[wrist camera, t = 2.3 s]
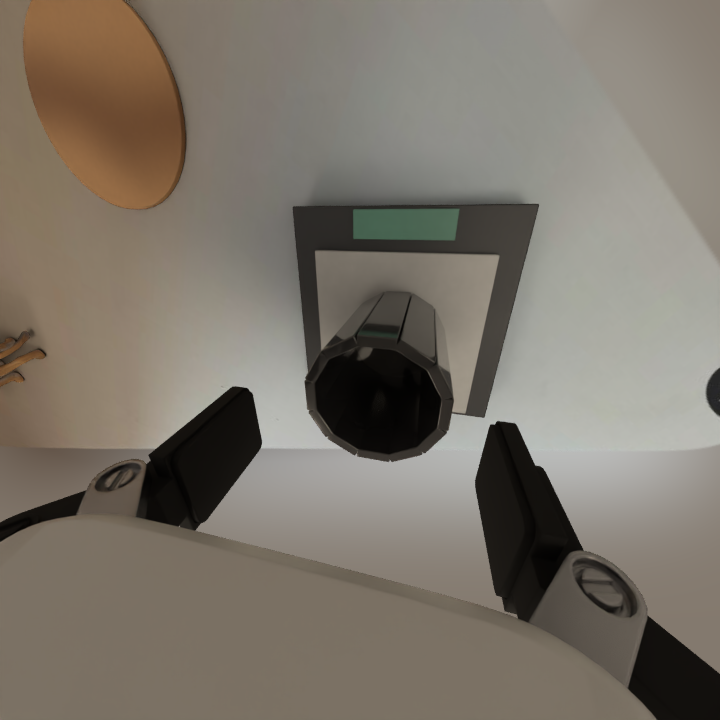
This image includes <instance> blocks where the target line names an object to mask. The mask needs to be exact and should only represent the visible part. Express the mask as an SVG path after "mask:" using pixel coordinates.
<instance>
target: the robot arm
mask: <svg viewBox="0 0 720 720" xmlns="http://www.w3.org/2000/svg"><path fill="white" fill-rule="evenodd" d="M261 445H262V439H261V434H260V429H259V424H258V419H257V414H256V409H255V404H254V398H253V394H252V393H251V392H250V391H249V389H248V388H243V387H232V388H230V389H229V390H228V391H227V392H225V393H224V394H223V395H222V396H220V397H219V398H218V399H217V400H215V401H214V402H213V403H212V404H211V405H209V406H208V407H207V408H206V409H204V410H203V411H202V412H201V413H200V414H198V415H197V416H196V417H195V418H193V419H192V420H191V421H190V422H188V423H187V424H186V425H185V426H184V427H182V428H181V429H180V430H179V431H177V432H176V433H175V434H174V435H173V436H171V437H170V438H169V439H168V440H166V441H165V442H164V443H163V444H161V445H160V446H159V447H158V448H157V449H155V450H154V451H153V452H152V453H150V454H149V457H150V460H151V461H150V462H149V463H147V464H146V463H145V462H144V461H143V460H139V459H131V460H125V461H122V462H119V463H116V464H114V465H112V466H110V467H108V468H106V469H105V470H103V471H102V472H100V473H99V474H98V475H97V476H96V477H95V478H94V479H93V480H92V481H91V483H90V484H89V486H88V488H87V490H86V491H83V492H80V493H77V494H74V495H71V496H68V497H65V498H63V499H60V500H57V501H54V502H51V503H48V504H45V505H42V506H40V507H37V508H34V509H31V510H28V511H25V512H22V513H20V514H18V515H15V516H13V517H10V518H8V519H6V520H4V521H2V522H0V720H720V674H719V673H718V672H717V671H715V670H714V669H713V668H712V667H710V666H709V665H708V664H707V663H706V662H704V661H703V660H702V659H700V658H699V657H698V656H697V655H696V654H694V653H693V652H692V651H691V650H689V649H688V648H687V647H686V646H685V645H683V644H682V643H681V642H679V641H678V640H677V639H676V638H675V637H673V636H672V635H671V634H670V633H668V632H667V631H666V630H665V629H663V628H662V627H661V626H660V625H658V624H657V623H656V622H655V621H654V620H652V619H651V618H650V617H649V616H647V606H646V604H645V601H644V598H643V596H642V594H641V593H640V591H639V590H638V588H637V587H636V585H635V584H634V583H633V581H632V580H631V579H630V578H629V577H628V576H627V575H626V574H625V573H624V572H623V571H622V570H620V569H619V568H618V567H617V566H615V565H614V564H613V563H611V562H610V561H608V560H606V559H605V558H603V557H601V556H599V555H596V554H594V553H591V552H587V551H584V550H583V548H582V546H581V544H580V542H579V540H578V538H577V536H576V534H575V532H574V530H573V528H572V526H571V524H570V521H569V520H568V518H567V515H566V513H565V511H564V509H563V507H562V505H561V503H560V501H559V499H558V497H557V495H556V493H555V491H554V488H553V487H552V484H551V482H550V480H549V478H548V476H547V474H546V472H545V471H544V469H543V468H542V467H540V466H535V464H534V462H533V460H532V458H531V456H530V453H529V451H528V449H527V447H526V444H525V442H524V440H523V438H522V436H521V433H520V431H519V429H518V427H517V425H516V424H515V423H508V422H500V421H497V422H496V424H495V425H492V424H491V425H490V427H489V430H488V434H487V438H486V442H485V445H484V449H483V453H482V457H481V460H480V464H479V468H478V472H477V476H476V480H475V488H476V494H477V499H478V505H479V510H480V515H481V520H482V526H483V531H484V537H485V542H486V548H487V553H488V558H489V563H490V569H491V574H492V580H493V585H494V590H495V593H496V595H497V596H500V597H502V600H503V605H504V610H505V611H506V612H510V613H514V614H517V616H518V618H515V617H513V616H510V615H508V614H504V613H502V612H499V611H496V610H493V609H489V608H487V607H484V606H481V605H478V604H474V603H471V602H467V601H463V600H460V599H456V598H453V597H449V596H445V595H442V594H439V593H435V592H431V591H428V590H424V589H421V588H417V587H413V586H409V585H405V584H402V583H398V582H394V581H390V580H386V579H382V578H378V577H375V576H371V575H367V574H363V573H359V572H355V571H352V570H348V569H344V568H340V567H336V566H332V565H329V564H325V563H321V562H317V561H313V560H309V559H305V558H301V557H297V556H293V555H289V554H285V553H281V552H277V551H274V550H270V549H266V548H261V547H258V546H254V545H250V544H246V543H241V542H238V541H234V540H229V539H226V538H222V537H218V536H214V535H210V534H205V533H202V532H198V531H195V530H196V529H197V528H198V526H199V525H200V524H201V523H203V522H205V521H206V520H207V519H208V518H209V516H210V515H211V514H212V512H213V511H214V510H215V508H216V507H217V506H218V504H219V503H220V502H221V500H222V499H223V498H224V496H225V495H226V494H227V493H228V491H229V490H230V488H231V487H232V486H233V485H234V483H235V482H236V481H237V479H238V478H239V476H240V475H241V474H242V473H243V471H244V470H245V469H246V467H247V466H248V465H249V463H250V462H251V461H252V459H253V458H254V457H255V455H256V454H257V453H258V451H259V450H260V448H261ZM179 525H180V527H179Z"/></svg>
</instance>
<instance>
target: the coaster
mask: <svg viewBox="0 0 720 720" xmlns="http://www.w3.org/2000/svg"><path fill="white" fill-rule="evenodd" d="M23 50H24V62H25V70H26V75H27V80H28V85H29V89H30V92H31V96H32V99H33V102H34V105H35V108H36V110H37V113H38V116H39V118H40V120H41V123H42V125H43V127H44V129H45V131H46V133H47V135H48V137H49V139H50V141H51V143H52V144H53V146H54V147H55V149H56V151H57V152H58V154H59V155H60V157H61V158H62V160H63V161H64V162H65V164H66V165H67V166H68V168H69V169H70V170H71V171H72V172H73V174H74V175H75V176H76V177H77V178H78V179H79V180H80V181H81V182H82V183H83V184H84V185H85V186H86V187H87V188H89V189H90V190H91V191H92V192H93V193H95V194H96V195H98V196H99V197H100V198H102V199H104V200H106V201H107V202H109V203H111V204H114V205H116V206H119V207H123V208H127V209H148V208H151V207H154V206H156V205H158V204H160V203H161V202H163V201H164V200H165V199H166V198H167V197H168V196H169V195H170V194H171V192H172V191H173V190H174V188H175V186H176V184H177V183H178V180H179V178H180V175H181V172H182V168H183V163H184V157H185V148H186V133H185V122H184V115H183V109H182V104H181V100H180V96H179V92H178V88H177V85H176V82H175V80H174V77H173V74H172V71H171V69H170V66H169V64H168V62H167V60H166V57H165V55H164V53H163V52H162V50H161V48H160V46H159V44H158V42H157V41H156V39H155V37H154V36H153V34H152V33H151V31H150V30H149V28H148V27H147V25H146V24H145V23H144V21H143V20H142V19H141V18H140V16H139V15H138V14H137V13H136V12H135V11H134V10H133V9H132V7H131V6H130V5H129V4H128V3H127V2H126V1H125V0H32V1H31V3H30V5H29V8H28V11H27V15H26V20H25V25H24V37H23Z"/></svg>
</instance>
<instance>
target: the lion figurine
mask: <svg viewBox="0 0 720 720" xmlns="http://www.w3.org/2000/svg"><path fill="white" fill-rule="evenodd" d="M29 338H30V337H29V333H28V332H27V331H23V332H22V333H21V335H20V337H19V338H18V340H17V342H16V341H15V340H14V339H12V338H7V339H5V342H4V343H1V344H0V351H3V352H1V353H0V359H1V358H4V357H6V356H8V355H10V354H11V353H13V352H14V351H16V350H17V349H19V348H20V347H21V346H22V345H23V344H24V343H25V342H26V341H27V340H28V339H29ZM4 350H5V351H4ZM34 358H36V359H43V358H45V355H44V353H43V352H41V351H40V350H34V351H31V352H29V353H27V354H25V355H22V356H19V357H17V358H16V359H15V360H13V361H11V362H9V363H7V364H4V363H3V362H2V361H1V360H0V376H2V375H5V374H7V373H9V372H11V371H12V370H14V369H16V368H17V367H19V366H20V365H22V364H24V363H26V362H28V361H29V360H31V359H34ZM13 380H14V381H15V382H23V381H24V380H23V378H22V376H21V375H20V374H18V373H9V374H7V375H5V376H3V377H1V378H0V387H1V386H3V385H4V384H7V383H9V382H11V381H13Z"/></svg>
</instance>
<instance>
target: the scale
mask: <svg viewBox="0 0 720 720" xmlns="http://www.w3.org/2000/svg"><path fill="white" fill-rule="evenodd" d="M538 208H539V204H485V205H389V206H294V207H293V216H294V227H295V238H296V248H297V259H298V269H299V280H300V291H301V301H302V312H303V323H304V333H305V344H306V355H307V365H308V372H309V370H310V369H311V367H312V365H313V363H314V361H315V360H316V358H317V356H318V354H319V353H320V352H321V350H322V349H323V348H324V347H325V346H326V345H327V343H328V342H329V341H330V340H331V339H332V338H333V336H334V335H335V334H336V333H337V332H338V331H339V330H340V328H341V327H342V326H343V325H344V324H345V323H346V321H347V320H348V319H349V318H350V317H351V316H352V314H353V313H354V312H355V311H356V310H357V309H358V308H359V306H360V305H361V304H362V303H363V302H365V301H367V300H368V299H370V298H372V297H374V296H376V295H378V294H380V293H382V292H386V291H397V292H411V294H412V293H414V294H415V295H417V296H418V297H420V298H421V299H423V300H425V301H426V302H428V303H429V304H431V305H432V306H433V307H434V308H435V309H436V311H437V313H438V315H439V318H440V320H441V322H442V324H443V326H444V328H445V335H446V342H447V350H448V357H449V365H450V373H451V380H452V388H453V395H454V404H453V410H452V413H453V414H461V415H468V416H475V417H482V418H484V417H485V413H486V409H487V406H488V402H489V398H490V394H491V390H492V386H493V382H494V378H495V374H496V371H497V367H498V363H499V359H500V355H501V351H502V347H503V343H504V340H505V336H506V332H507V328H508V324H509V320H510V316H511V312H512V308H513V305H514V301H515V297H516V293H517V289H518V285H519V281H520V277H521V274H522V270H523V266H524V262H525V258H526V254H527V250H528V246H529V243H530V239H531V235H532V231H533V227H534V223H535V219H536V215H537V211H538Z"/></svg>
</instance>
